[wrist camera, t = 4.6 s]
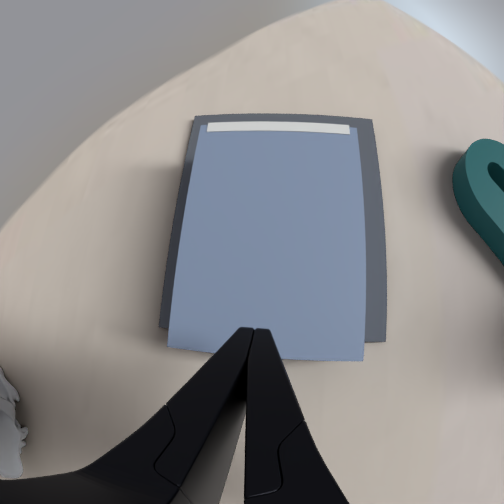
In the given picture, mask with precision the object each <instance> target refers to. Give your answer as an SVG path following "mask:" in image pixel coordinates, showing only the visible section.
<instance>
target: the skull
mask: <svg viewBox="0 0 504 504" xmlns="http://www.w3.org/2000/svg"><path fill="white" fill-rule="evenodd" d="M14 400H16V401H17V402H19V394H18V392H17V391H16V389H15V388H14V387H13V386H12V385H11V384H10V383H9V382H8V381H7V380H6V379H5V376H4V373H3V370H2V368H1V367H0V476H2V477H5V478H19V477H20V476H21V475H22V473H23V466H22V462H21V459H20V454H21V453H22V451H21V447H24V446H25V445H26V442H25V441H23V439H24V438H26V435H27V434H28V428H27V427H23V428H21V426H20V424H19V423H18V421H17V420H16V419H15V414H16V413H15V402H14Z"/></svg>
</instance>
